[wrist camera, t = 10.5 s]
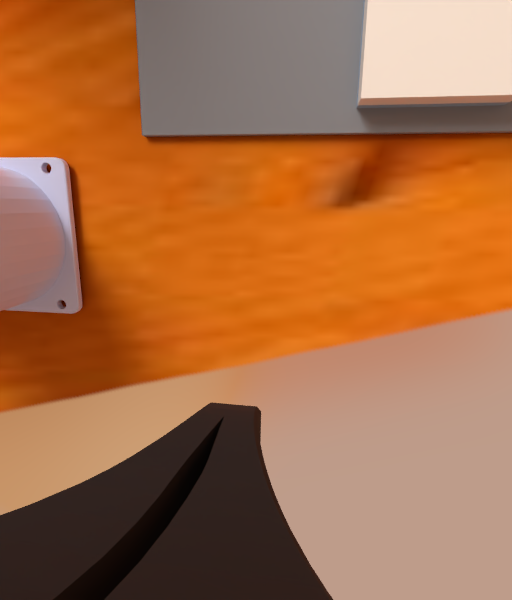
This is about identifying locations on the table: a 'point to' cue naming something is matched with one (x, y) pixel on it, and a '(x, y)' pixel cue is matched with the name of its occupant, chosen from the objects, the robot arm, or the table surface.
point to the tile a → (435, 53)
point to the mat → (271, 73)
